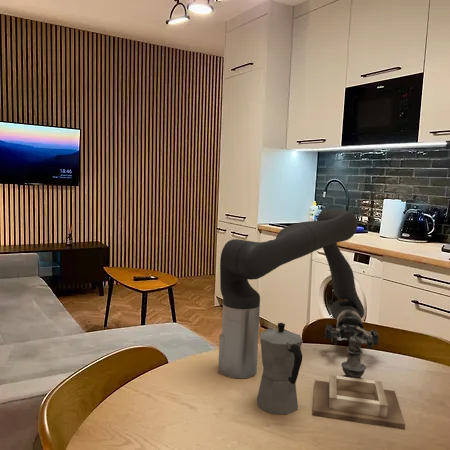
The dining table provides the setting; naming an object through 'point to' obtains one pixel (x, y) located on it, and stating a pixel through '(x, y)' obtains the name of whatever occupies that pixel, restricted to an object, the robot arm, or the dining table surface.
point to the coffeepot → (279, 370)
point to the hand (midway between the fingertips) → (352, 343)
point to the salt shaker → (354, 359)
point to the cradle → (357, 401)
